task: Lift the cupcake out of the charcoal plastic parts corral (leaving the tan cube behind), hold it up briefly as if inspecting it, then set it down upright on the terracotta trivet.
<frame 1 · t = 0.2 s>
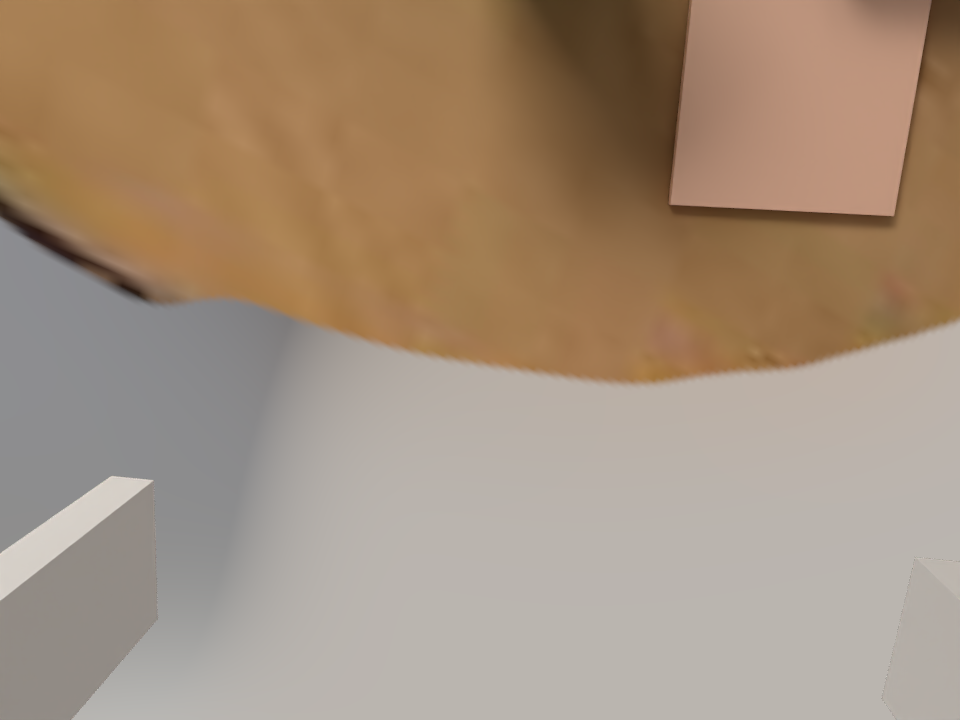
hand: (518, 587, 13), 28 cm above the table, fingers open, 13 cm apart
trivet: (793, 96, 36), on the table
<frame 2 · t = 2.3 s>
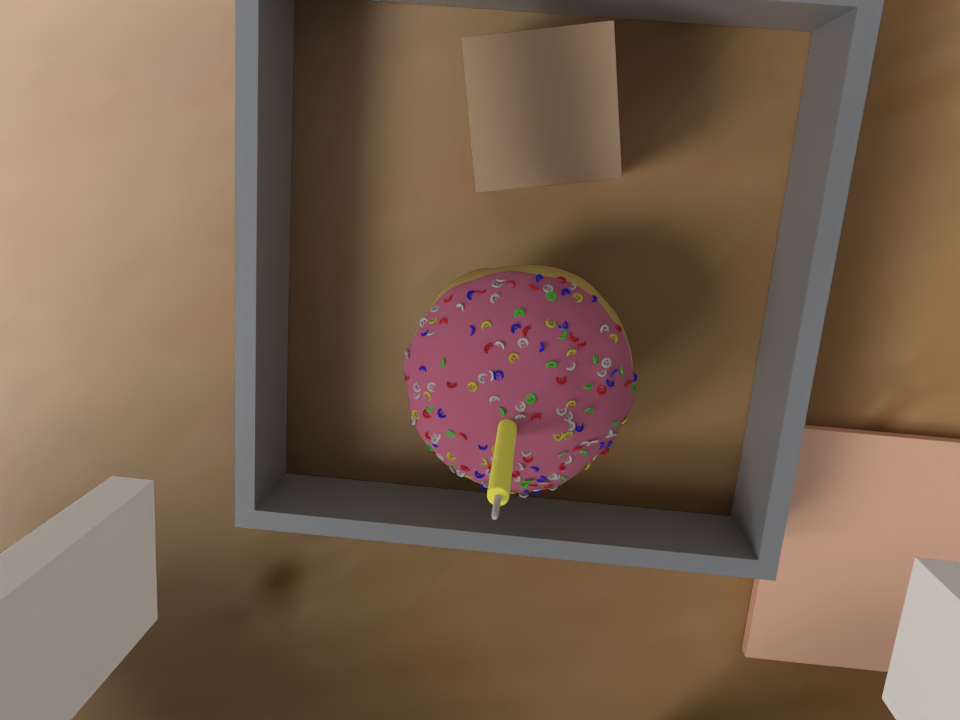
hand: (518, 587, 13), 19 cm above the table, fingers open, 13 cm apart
trivet: (887, 552, 33), on the table
corral: (525, 271, 31), on the table
tan cube: (539, 121, 30), resting in corral
cupcake: (518, 352, 32), resting in corral
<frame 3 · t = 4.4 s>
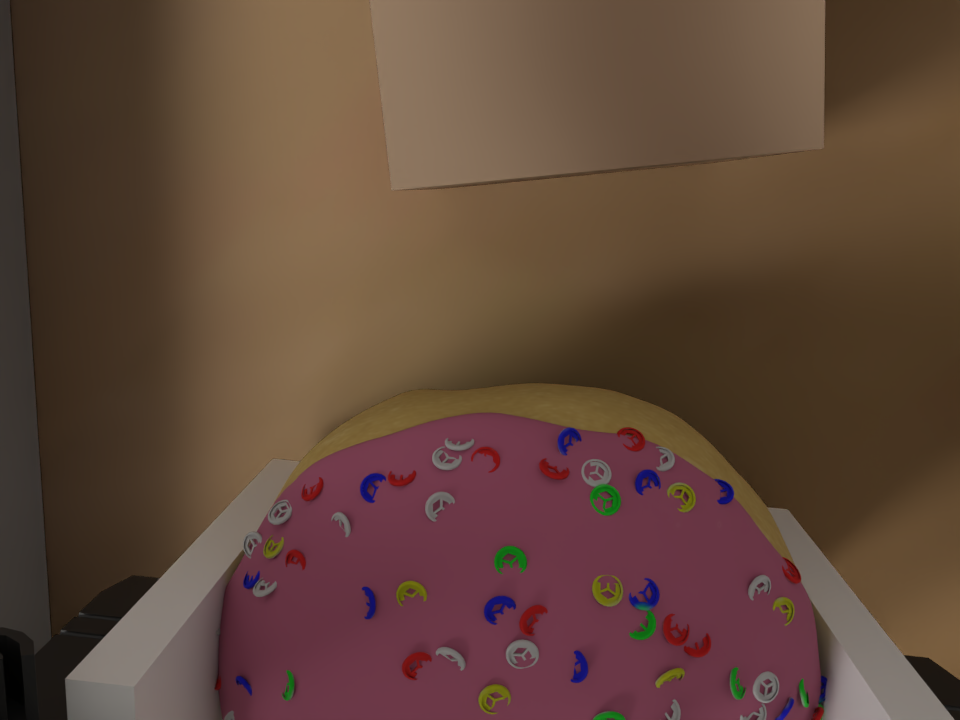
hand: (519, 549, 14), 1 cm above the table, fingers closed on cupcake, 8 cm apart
corral: (534, 363, 14), on the table
tan cube: (566, 29, 13), resting in corral
cupcake: (515, 525, 15), resting in corral, touching gripper
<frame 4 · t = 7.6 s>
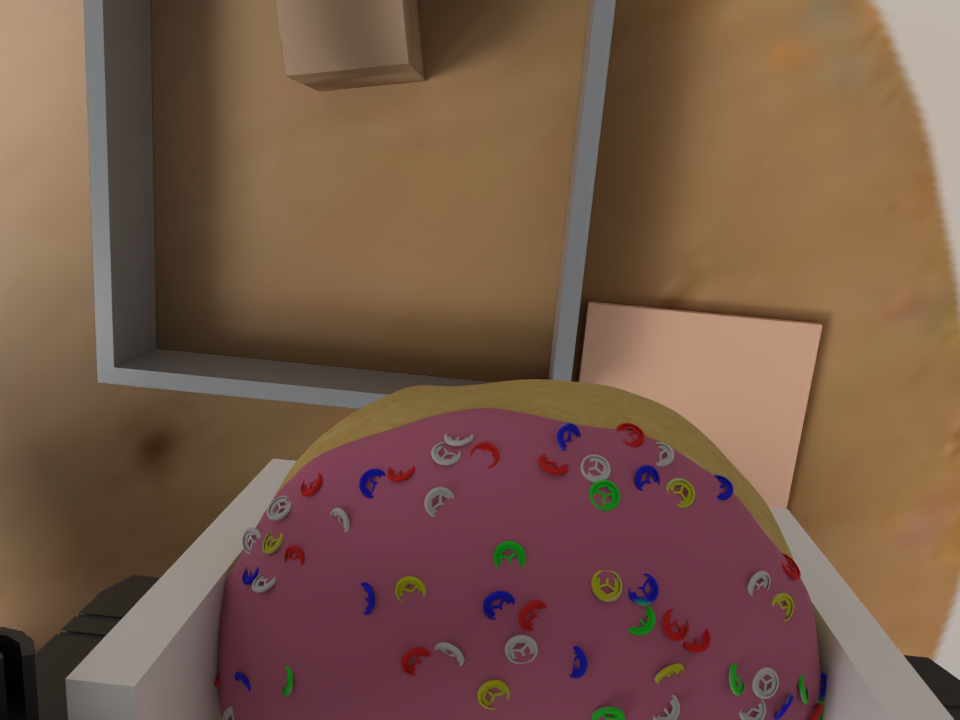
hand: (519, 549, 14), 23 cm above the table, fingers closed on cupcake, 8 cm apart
trivet: (685, 420, 37), on the table
corral: (358, 163, 35), on the table
tan cube: (365, 28, 34), resting in corral
cupcake: (515, 523, 15), point 22 cm above the table, touching gripper
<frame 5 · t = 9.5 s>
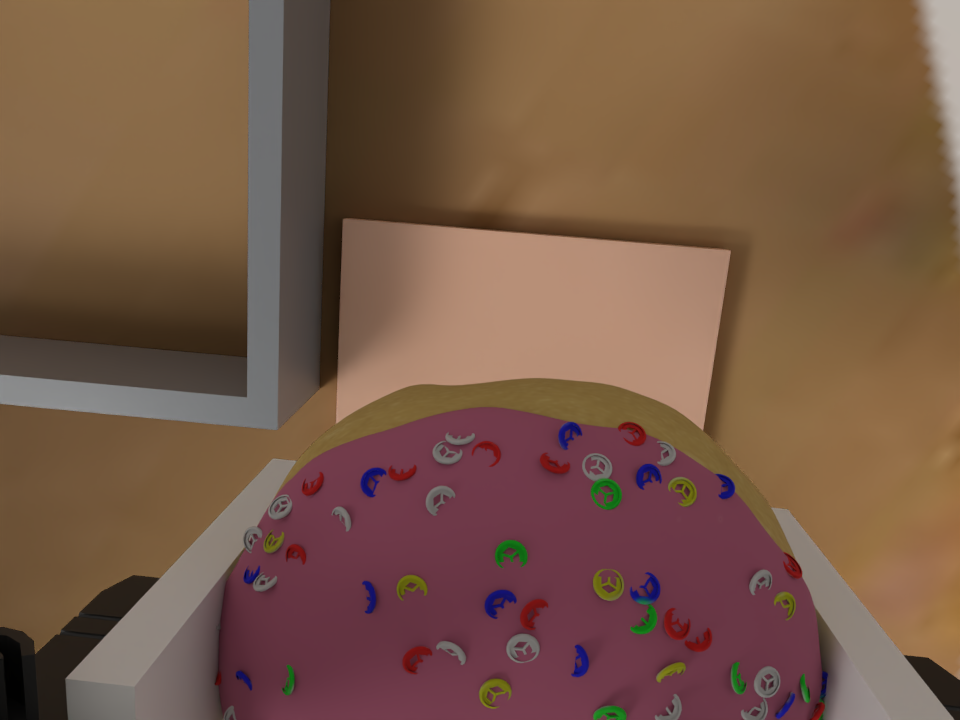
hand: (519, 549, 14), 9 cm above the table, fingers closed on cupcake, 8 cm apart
trivet: (517, 413, 23), on the table
cupcake: (516, 522, 15), point 8 cm above the table, touching gripper
when the fingers open (3 cm above the table, at t = 11.0 s): cupcake drops 1 cm, resting on trivet.
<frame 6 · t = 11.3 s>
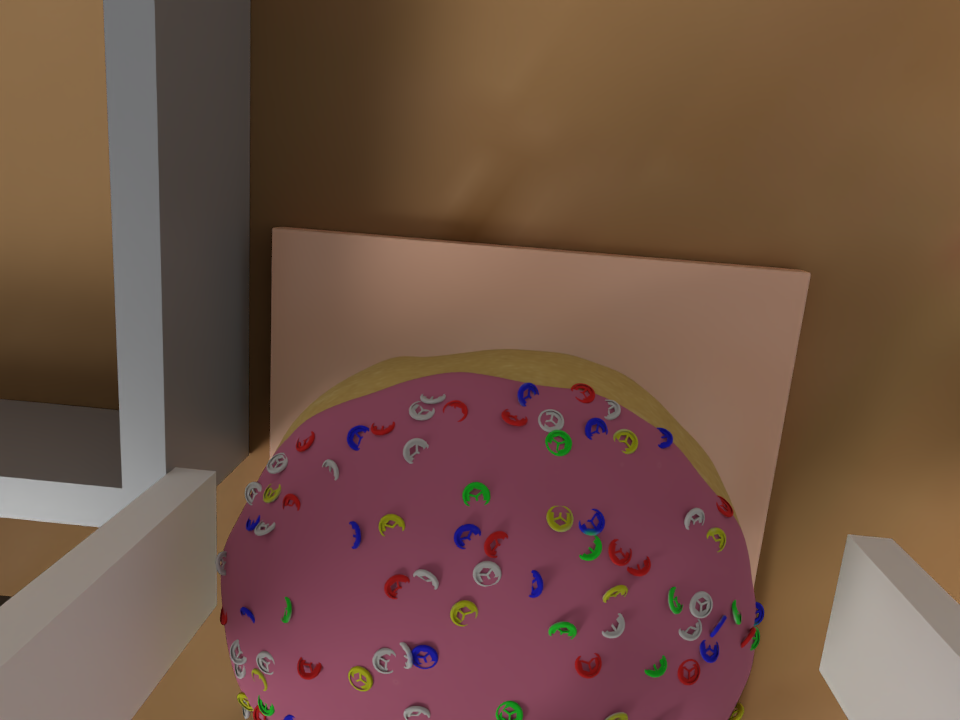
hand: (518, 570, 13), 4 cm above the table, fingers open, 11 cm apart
trivet: (514, 488, 17), on the table
cupcake: (494, 490, 17), resting on trivet
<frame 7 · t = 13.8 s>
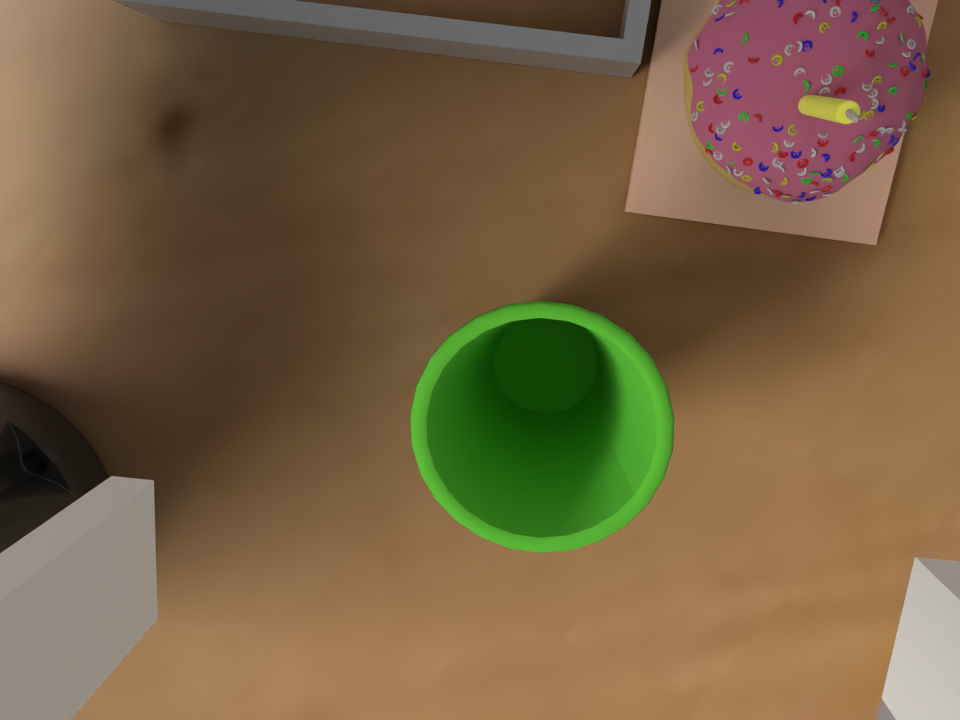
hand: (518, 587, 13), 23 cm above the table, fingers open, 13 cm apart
trivet: (772, 100, 32), on the table
cup: (545, 359, 36), on the table
cupcake: (765, 95, 32), resting on trivet
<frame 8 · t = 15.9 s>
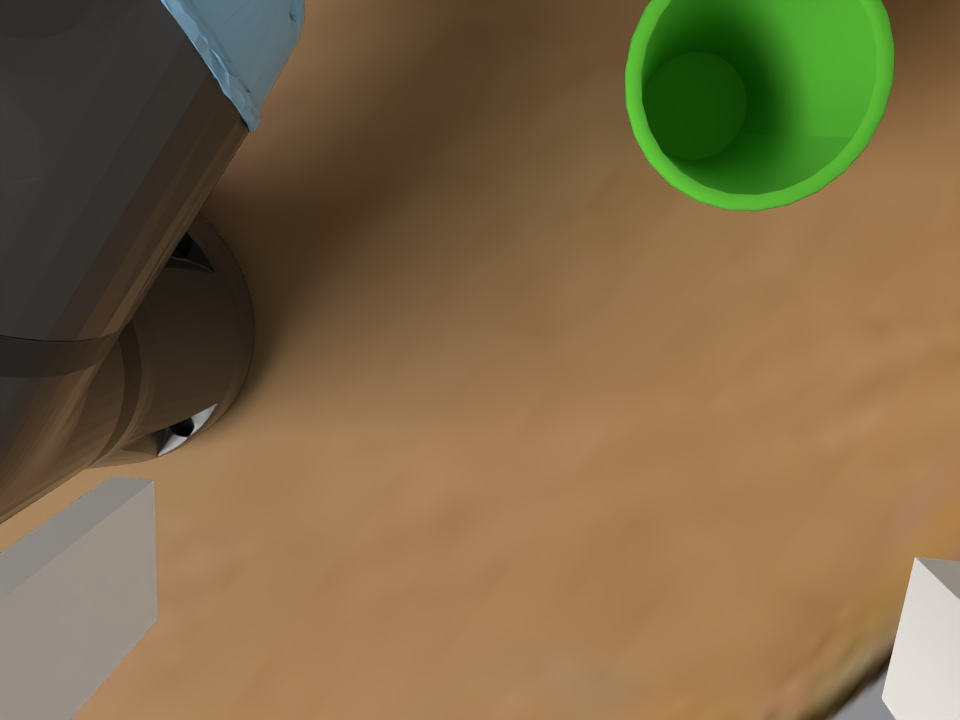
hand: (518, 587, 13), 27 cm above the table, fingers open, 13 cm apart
cup: (690, 108, 36), on the table
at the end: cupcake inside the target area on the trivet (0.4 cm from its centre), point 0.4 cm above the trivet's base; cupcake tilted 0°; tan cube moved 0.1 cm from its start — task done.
